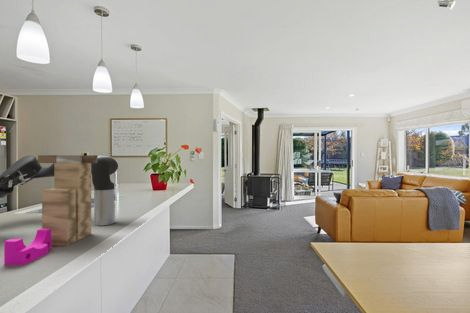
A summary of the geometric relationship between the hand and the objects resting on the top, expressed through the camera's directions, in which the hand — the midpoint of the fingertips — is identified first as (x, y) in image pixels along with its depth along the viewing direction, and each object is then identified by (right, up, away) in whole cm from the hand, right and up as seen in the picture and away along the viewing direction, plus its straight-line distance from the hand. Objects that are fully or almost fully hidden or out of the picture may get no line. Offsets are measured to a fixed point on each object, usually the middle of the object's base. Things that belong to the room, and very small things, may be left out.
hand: (27, 172), depth 117 cm
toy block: (+19, -28, -23) cm, 41 cm away
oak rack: (+20, -27, -4) cm, 34 cm away
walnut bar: (+17, +4, -1) cm, 18 cm away
